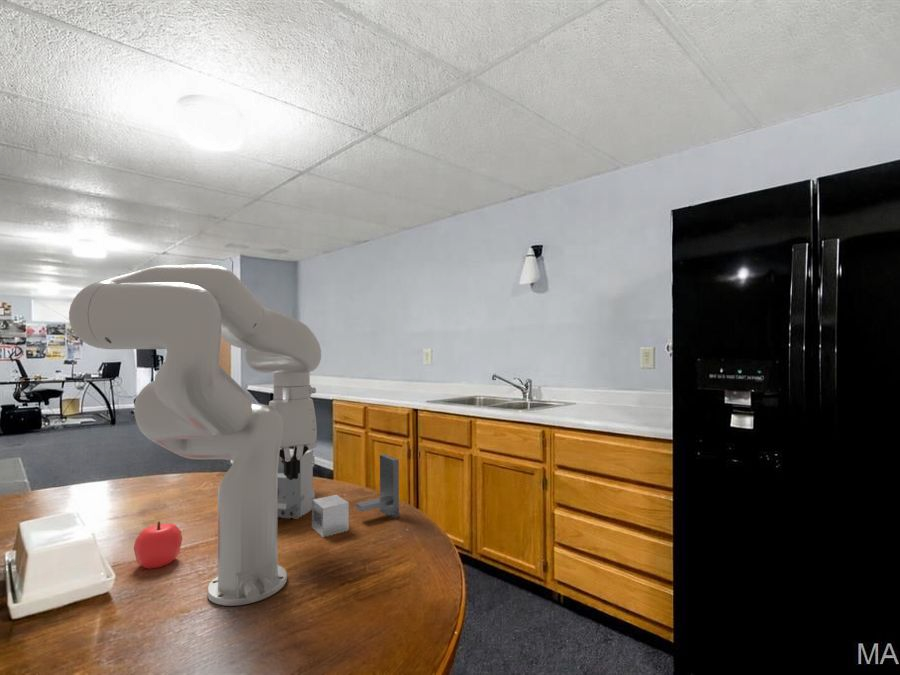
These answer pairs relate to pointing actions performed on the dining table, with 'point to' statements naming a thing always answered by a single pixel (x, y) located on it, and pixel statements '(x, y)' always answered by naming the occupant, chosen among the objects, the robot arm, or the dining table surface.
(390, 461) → the grey l-shaped bracket part
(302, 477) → the circuit breaker
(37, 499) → the dining table surface
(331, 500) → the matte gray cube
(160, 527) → the apple
